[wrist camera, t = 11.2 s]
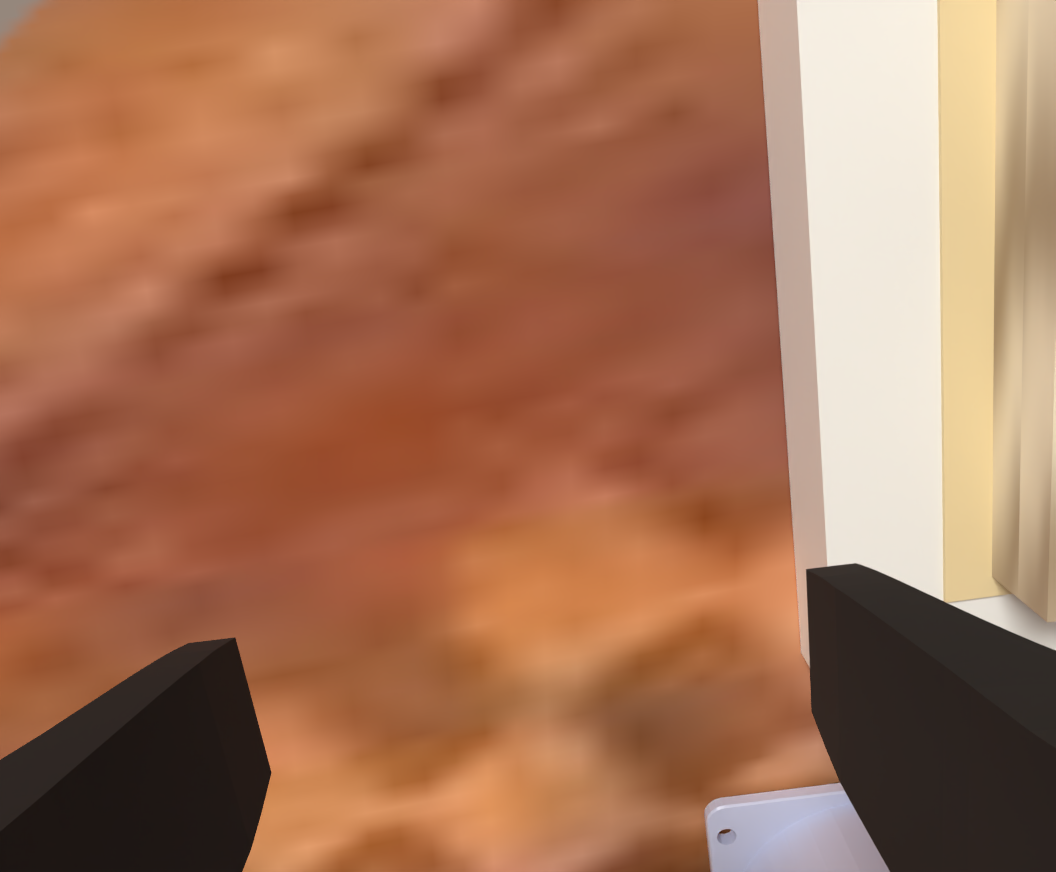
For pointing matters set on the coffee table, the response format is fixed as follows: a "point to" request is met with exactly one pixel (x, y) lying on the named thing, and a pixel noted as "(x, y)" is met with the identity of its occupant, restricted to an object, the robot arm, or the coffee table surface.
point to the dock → (888, 290)
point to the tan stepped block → (1025, 305)
